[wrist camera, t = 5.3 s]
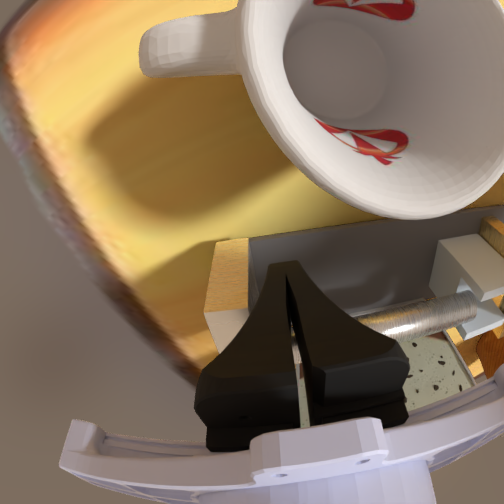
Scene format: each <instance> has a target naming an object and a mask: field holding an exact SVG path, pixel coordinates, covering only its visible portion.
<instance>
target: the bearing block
mask: <svg viewBox="0 0 504 504" xmlns="http://www.w3.org/2000/svg"><path fill="white" fill-rule="evenodd" d="M429 287H430V289H431V290H432V291H433V293H434V294H435V296H436V297H437V298H439V297H443V296H446V295H450V294H454V293H457V292H461V291H464V290H470V291H471V292H472V293H473V294H474V296H475V298H476V301H477V315H476V317H475V319H474V320H473V321H471V322H468V323H465V324H462V325H459V326H456V328H457V330H458V332H459V333H460V335H461V337H462V338H463V340H467V339H469V338H472V337H474V336H477V335H479V334H482V333H484V332H487V331H489V330H492V329H494V328H496V327H499V326H501V325H503V323H504V314H503V313H502V312H501V310H500V309H499V308H498V306H497V305H496V304H495V302H494V301H493V300H492V299H491V298H494V297H497V296H499V295H502V294H504V258H503V257H502V256H501V255H500V254H499V253H498V252H496V251H495V250H494V249H493V248H492V247H491V246H490V245H489V244H488V243H487V242H486V241H485V240H484V239H483V238H482V237H481V236H480V235H478V234H471V235H465V236H460V237H454V238H448V239H442V240H438V245H437V250H436V255H435V260H434V265H433V269H432V274H431V278H430V282H429Z"/></svg>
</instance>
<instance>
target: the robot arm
mask: <svg viewBox="0 0 504 504" xmlns="http://www.w3.org/2000/svg"><path fill="white" fill-rule="evenodd" d="M291 322H292V326H293V330H294V333H295V337H296V341H297V345H298V349H299V353H300V357H301V362H302V368H303V375H304V383H305V390H306V398H307V406H308V414H309V423H310V427H304V428H301V423H300V422H301V421H300V408H299V396H298V385H297V377H296V369H295V363H294V356H293V350H292V337H291ZM409 371H410V364H409V361H408V359H407V356H406V354H405V353H404V351H403V349H402V348H401V346H400V345H399V343H398V342H397V340H395V339H393V338H390V337H388V336H386V335H383V334H381V333H379V332H377V331H375V330H373V329H371V328H369V327H367V326H365V325H364V324H362V323H361V322H359V321H357V320H356V319H354V318H353V317H351V316H350V315H349V314H347V313H346V312H345V311H343V310H342V309H341V308H340V307H338V306H337V305H336V304H335V303H334V302H333V301H332V300H330V299H329V298H328V297H327V296H326V295H325V294H324V293H323V292H322V291H321V290H320V288H319V287H318V286H317V285H316V284H315V283H314V282H313V280H312V279H311V278H310V277H309V275H308V274H307V273H306V271H305V270H304V269H303V267H302V265H301V264H300V262H299V261H298V260H293V261H286V262H279V263H272V264H269V265H268V269H267V274H266V278H265V281H264V285H263V287H262V290H261V293H260V295H259V297H258V299H257V302H256V304H255V306H254V308H253V310H252V312H251V313H250V315H249V317H248V319H247V320H246V322H245V323H244V325H243V326H242V328H241V329H240V331H239V332H238V333H237V335H236V336H235V337H234V338H233V340H232V341H231V342H230V343H229V344H228V345H227V346H226V348H225V349H224V350H223V351H222V352H221V353H220V354H219V355H218V356H217V357H216V358H215V359H214V360H213V361H212V362H210V363H209V364H208V365H207V366H206V367H205V368H203V369H202V372H201V375H200V377H199V381H198V384H197V388H196V393H195V402H194V409H195V412H196V413H197V415H198V416H199V417H200V419H201V420H202V421H203V423H204V424H205V425H206V426H207V435H206V442H195V441H174V440H161V439H150V438H141V437H133V436H126V435H119V434H113V433H107V432H105V431H104V430H103V429H102V428H101V427H100V426H98V425H96V424H94V423H91V422H86V421H82V420H76V419H73V420H72V422H71V425H70V428H69V431H68V435H67V438H66V441H65V444H64V448H63V451H62V455H61V458H60V462H59V467H60V468H62V469H64V470H66V471H67V472H69V473H71V474H73V475H75V476H77V477H79V478H81V479H83V480H85V481H87V482H89V483H91V484H93V485H95V486H99V487H102V488H106V489H109V490H113V491H116V492H120V493H123V494H127V495H131V496H135V497H139V498H144V499H148V500H153V501H158V502H163V503H168V504H437V503H436V499H435V494H434V490H433V486H432V481H431V478H430V472H433V471H435V470H437V469H439V468H441V467H443V466H446V465H448V464H450V463H451V462H453V461H455V460H457V459H459V458H461V457H463V456H465V455H467V454H469V453H470V452H472V451H474V450H475V449H477V448H479V447H481V446H482V445H484V444H486V443H487V442H489V441H491V440H492V439H494V438H495V437H497V436H499V435H500V434H502V433H503V432H504V364H502V365H501V366H500V367H499V368H498V369H497V370H496V372H495V374H494V376H493V377H491V378H489V379H487V380H485V381H483V382H481V383H479V384H477V385H475V386H473V387H471V388H468V389H466V390H464V391H462V392H459V393H457V394H455V395H452V396H450V397H447V398H445V399H442V400H440V401H437V402H435V403H432V404H429V405H426V406H424V407H421V408H418V409H415V410H412V411H409V412H408V411H407V408H406V405H405V402H404V400H403V399H404V398H405V393H404V390H403V388H402V387H403V385H404V383H405V381H406V378H407V376H408V374H409Z"/></svg>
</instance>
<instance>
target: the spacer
mask: <svg viewBox="0 0 504 504" xmlns="http://www.w3.org/2000/svg"><path fill="white" fill-rule="evenodd" d="M478 235H480V236H481V237H482V238H483V239H484V240H485V241H486V242H487V243H488V244H489V245H490V246H491V247H492V248H493V249H494V250H495V251H496V252H498V253H499V254H500V255H501V256H502V257H503V258H504V224H503V223H502V222H501V221H500V220H498V219H497V218H496V217H495V216H487V217H482V218H481V223H480V228H479V233H478ZM491 299H492V300H493V301H494V302H495V304H496V305H497V306H498V308H499V309H500V310H501V312H502V313H503V314H504V295H503V297H502V296H501V295H499V296H497V297H494V298H491ZM492 330H493V332H494V333H495V335H496V336H497V338H498V339H499V338H501V337H504V323H503V325H501V326H499V327H496V328H494V329H492Z"/></svg>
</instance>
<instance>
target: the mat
mask: <svg viewBox="0 0 504 504" xmlns="http://www.w3.org/2000/svg"><path fill="white" fill-rule="evenodd" d="M487 216H495V217H496V218H497V219H498V220H500V221H501V222H502V223H503V224H504V205H498V206H489V207H480V208H472V209H463V210H457V211H455V212H452V213H450V214H447V215H444V216H439V217H435V218H431V219H421V220H402V219H393V218H390V219H382V220H375V221H367V222H360V223H352V224H345V225H338V226H330V227H323V228H316V229H309V230H302V231H295V232H288V233H281V234H274V235H267V236H260V237H253V238H248V239H249V244H250V249H251V255H252V260H253V265H254V270H255V275H256V280H257V285H258V290H259V295H260V293H261V290H262V287H263V285H264V281H265V278H266V274H267V269H268V265H269V264H272V263H279V262H286V261H293V260H298V261H299V262H300V264H301V265H302V267H303V269H304V270H305V271H306V273H307V274H308V275H309V277H310V278H311V279H312V280H313V282H314V283H315V284H316V285H317V286H318V287H319V288H320V290H321V291H322V292H323V293H324V294H325V295H326V296H327V297H328V298H329V299H330V300H332V301H333V302H334V303H335V304H336V305H337V306H338V307H340V308H341V309H342V310H343V311H345V312H346V313H347V314H351V313H356V312H361V311H366V310H371V309H375V308H380V307H385V306H389V305H393V304H398V303H402V302H406V301H411V300H415V299H419V298H423V297H424V298H425V300H426V299H430V298H434V297H436V296H435V294H434V293H433V291H432V290H431V289H430V287H429V282H430V278H431V274H432V269H433V265H434V260H435V255H436V250H437V245H438V240H442V239H448V238H454V237H460V236H465V235H471V234H478V233H479V228H480V223H481V218H482V217H487ZM291 326H292V322H291Z"/></svg>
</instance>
